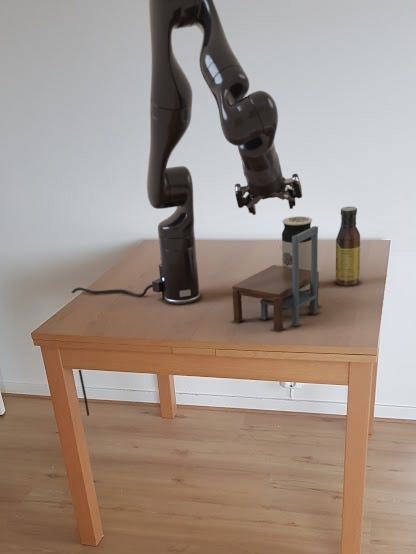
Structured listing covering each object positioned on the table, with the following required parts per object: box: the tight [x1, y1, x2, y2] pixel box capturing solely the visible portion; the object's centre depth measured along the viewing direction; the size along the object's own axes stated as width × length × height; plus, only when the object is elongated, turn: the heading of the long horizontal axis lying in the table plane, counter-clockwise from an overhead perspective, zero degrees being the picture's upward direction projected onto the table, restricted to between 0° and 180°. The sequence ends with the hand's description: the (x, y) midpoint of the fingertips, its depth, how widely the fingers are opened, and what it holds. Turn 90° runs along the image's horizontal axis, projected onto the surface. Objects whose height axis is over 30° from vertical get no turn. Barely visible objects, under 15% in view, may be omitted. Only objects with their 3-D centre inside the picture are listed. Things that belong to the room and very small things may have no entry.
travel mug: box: [281, 215, 313, 292], centre depth 178 cm, size 8×8×18 cm
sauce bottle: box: [335, 206, 361, 287], centre depth 178 cm, size 7×6×20 cm
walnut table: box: [231, 264, 320, 332], centre depth 165 cm, size 13×18×9 cm
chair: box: [259, 225, 319, 327], centre depth 160 cm, size 10×10×21 cm
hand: (272, 208), depth 156 cm, fingers open, 8 cm apart
